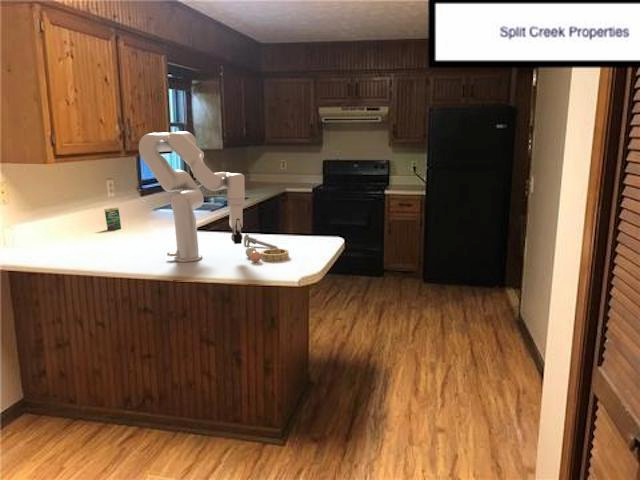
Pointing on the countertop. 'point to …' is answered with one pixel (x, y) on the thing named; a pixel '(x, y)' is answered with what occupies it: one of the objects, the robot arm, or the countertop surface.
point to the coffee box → (112, 218)
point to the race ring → (274, 255)
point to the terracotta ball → (255, 256)
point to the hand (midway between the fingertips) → (237, 241)
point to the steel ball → (233, 236)
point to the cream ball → (250, 251)
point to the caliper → (257, 242)
